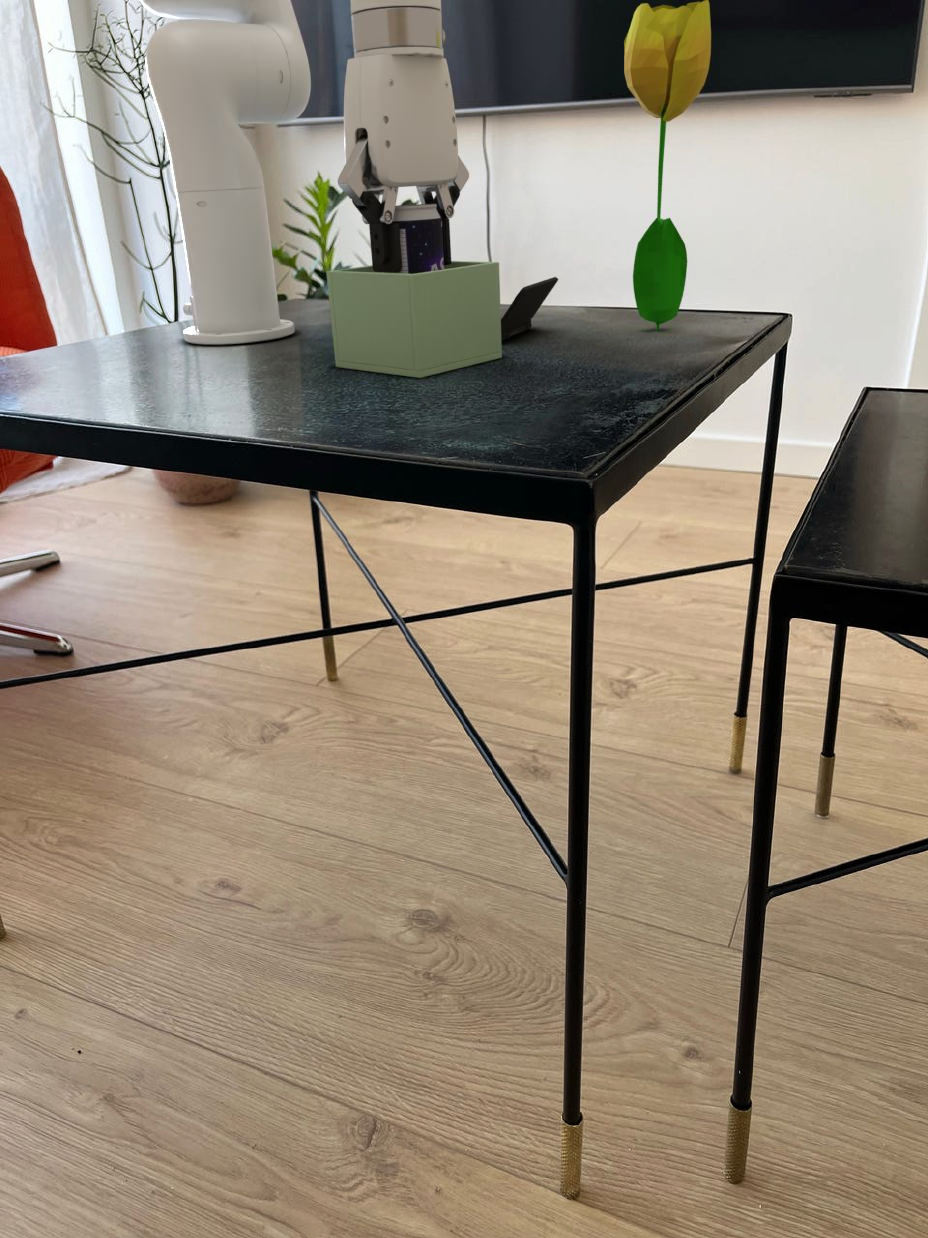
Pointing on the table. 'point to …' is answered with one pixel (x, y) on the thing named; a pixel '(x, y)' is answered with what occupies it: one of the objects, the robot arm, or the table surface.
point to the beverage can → (420, 238)
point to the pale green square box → (416, 318)
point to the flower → (664, 86)
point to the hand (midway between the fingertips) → (412, 265)
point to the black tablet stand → (525, 307)
